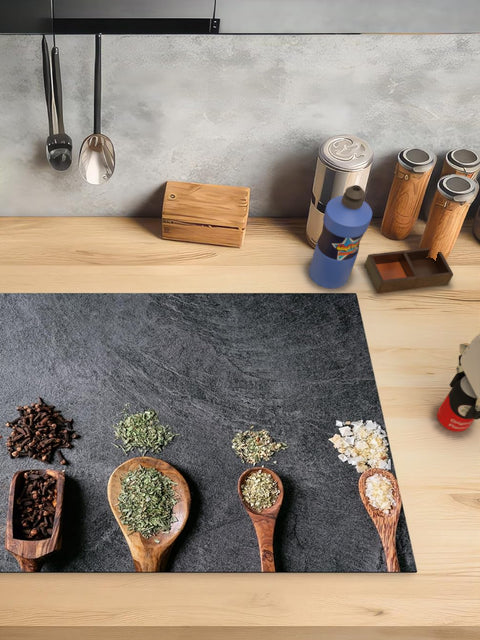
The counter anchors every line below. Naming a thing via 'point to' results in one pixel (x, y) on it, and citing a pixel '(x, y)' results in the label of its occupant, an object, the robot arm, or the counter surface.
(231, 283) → the counter surface
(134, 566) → the counter surface
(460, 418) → the beverage can
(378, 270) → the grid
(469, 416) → the robot arm
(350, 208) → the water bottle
